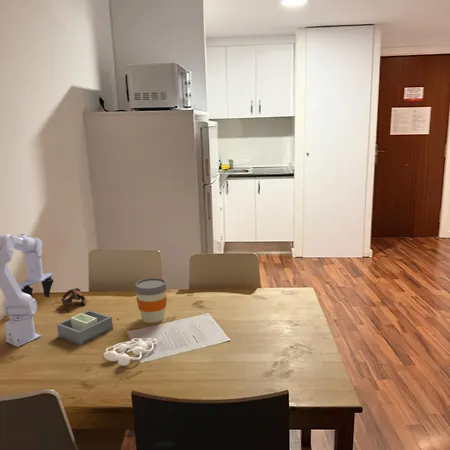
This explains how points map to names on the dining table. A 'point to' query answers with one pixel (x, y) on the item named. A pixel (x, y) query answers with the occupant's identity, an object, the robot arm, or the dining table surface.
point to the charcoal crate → (88, 333)
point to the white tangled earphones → (122, 347)
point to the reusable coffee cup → (151, 299)
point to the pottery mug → (73, 296)
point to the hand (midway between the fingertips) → (38, 300)
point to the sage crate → (82, 321)
